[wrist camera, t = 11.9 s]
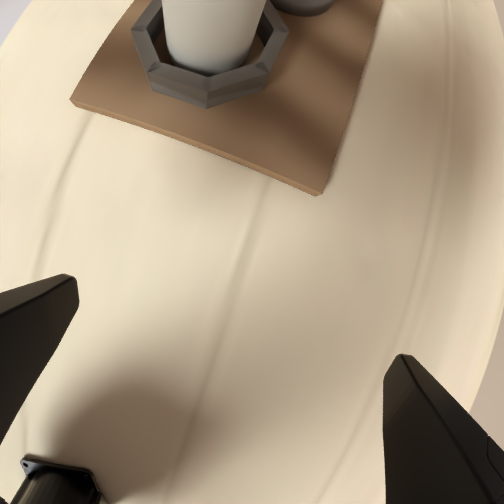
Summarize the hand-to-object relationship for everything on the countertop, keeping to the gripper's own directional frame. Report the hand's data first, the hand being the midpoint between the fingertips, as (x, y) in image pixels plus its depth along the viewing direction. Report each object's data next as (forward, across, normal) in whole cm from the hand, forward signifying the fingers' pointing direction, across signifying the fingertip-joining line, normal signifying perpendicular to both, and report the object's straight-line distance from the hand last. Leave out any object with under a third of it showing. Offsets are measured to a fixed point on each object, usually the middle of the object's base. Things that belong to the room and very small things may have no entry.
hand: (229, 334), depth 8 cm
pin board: (+16, +4, -11) cm, 20 cm away
